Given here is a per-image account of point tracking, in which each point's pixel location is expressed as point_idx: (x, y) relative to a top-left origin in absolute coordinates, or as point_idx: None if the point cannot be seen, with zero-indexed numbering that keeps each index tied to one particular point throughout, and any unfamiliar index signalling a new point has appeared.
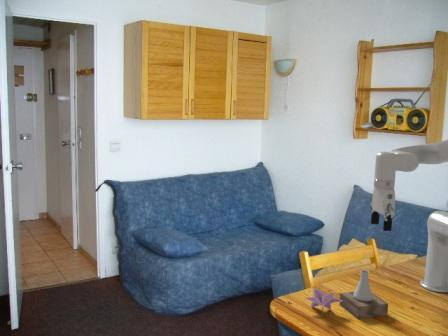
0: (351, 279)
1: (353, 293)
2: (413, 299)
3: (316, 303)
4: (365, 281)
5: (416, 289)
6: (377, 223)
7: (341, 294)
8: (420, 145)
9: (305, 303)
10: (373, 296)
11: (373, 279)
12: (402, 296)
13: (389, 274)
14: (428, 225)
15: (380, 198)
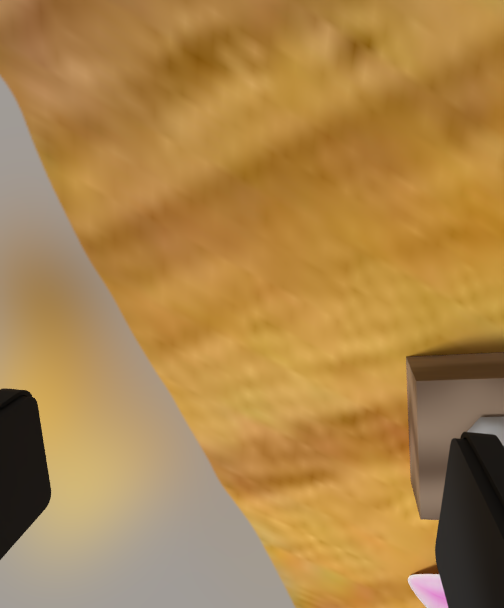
0: (154, 302)
1: (439, 468)
2: (433, 106)
3: (437, 596)
4: None
5: (307, 3)
6: (33, 417)
7: (433, 518)
8: None
9: (373, 583)
10: (500, 399)
11: (157, 191)
12: (384, 149)
13: (89, 57)
14: None
15: None
